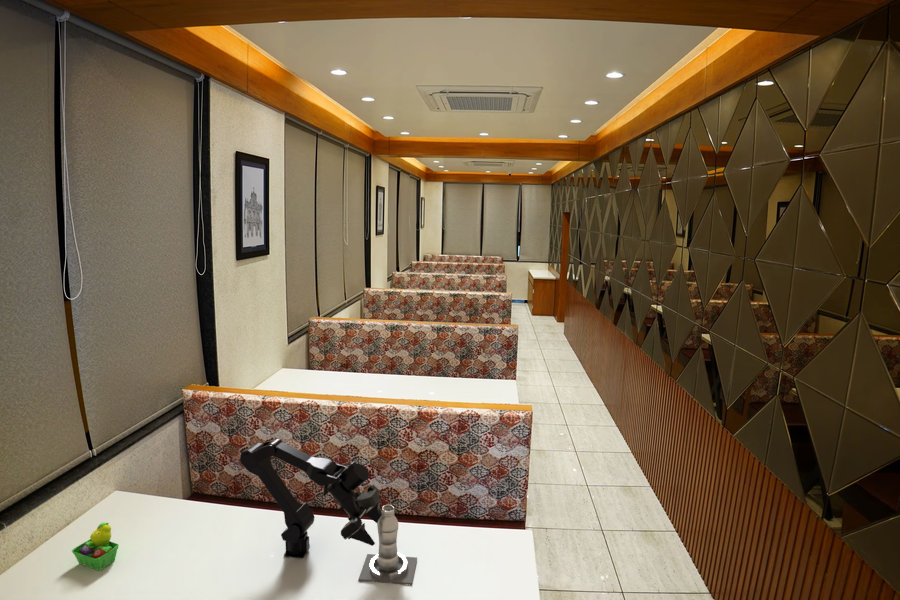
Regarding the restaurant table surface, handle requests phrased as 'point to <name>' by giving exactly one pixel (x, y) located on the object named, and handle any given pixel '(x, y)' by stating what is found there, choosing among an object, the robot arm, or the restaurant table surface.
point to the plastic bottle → (387, 540)
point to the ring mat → (404, 579)
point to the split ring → (392, 575)
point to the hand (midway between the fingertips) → (379, 535)
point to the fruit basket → (97, 549)
